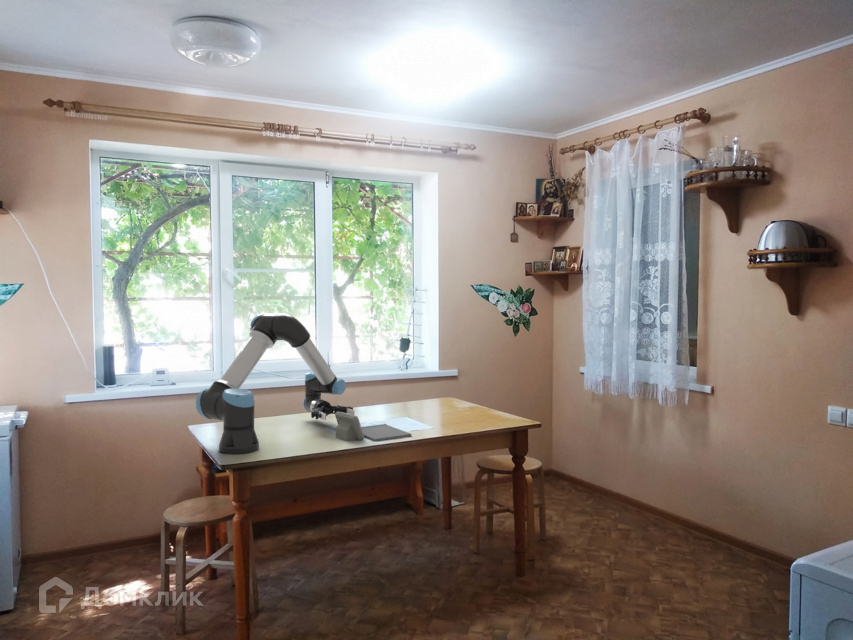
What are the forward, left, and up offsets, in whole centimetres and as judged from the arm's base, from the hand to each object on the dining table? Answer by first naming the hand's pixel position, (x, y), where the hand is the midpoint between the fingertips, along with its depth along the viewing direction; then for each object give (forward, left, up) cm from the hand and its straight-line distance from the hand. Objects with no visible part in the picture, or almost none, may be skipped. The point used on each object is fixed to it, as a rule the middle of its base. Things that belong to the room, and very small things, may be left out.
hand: (339, 415), depth 265 cm
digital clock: (0, -10, -8) cm, 13 cm away
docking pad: (+15, -10, -8) cm, 19 cm away
